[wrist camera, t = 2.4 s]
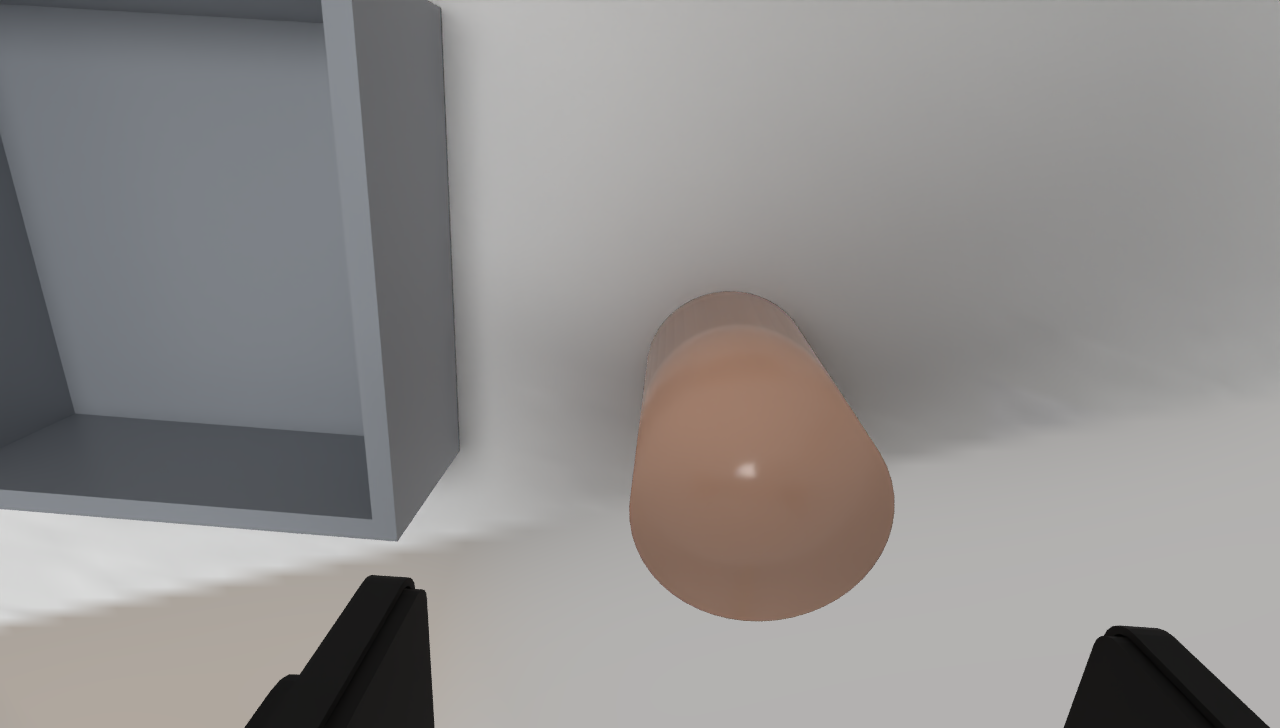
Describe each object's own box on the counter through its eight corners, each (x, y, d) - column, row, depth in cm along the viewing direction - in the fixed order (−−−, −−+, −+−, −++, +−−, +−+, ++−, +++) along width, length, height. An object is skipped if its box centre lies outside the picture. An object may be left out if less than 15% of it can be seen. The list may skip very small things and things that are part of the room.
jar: (821, 297, 19) (919, 405, 11) (796, 448, 20) (868, 630, 13) (651, 285, 19) (637, 384, 11) (641, 437, 21) (622, 610, 13)
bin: (440, 7, 17) (347, -44, 12) (459, 450, 21) (397, 541, 16) (-40, -21, 17) (-316, -81, 12) (78, 421, 21) (-91, 501, 17)
